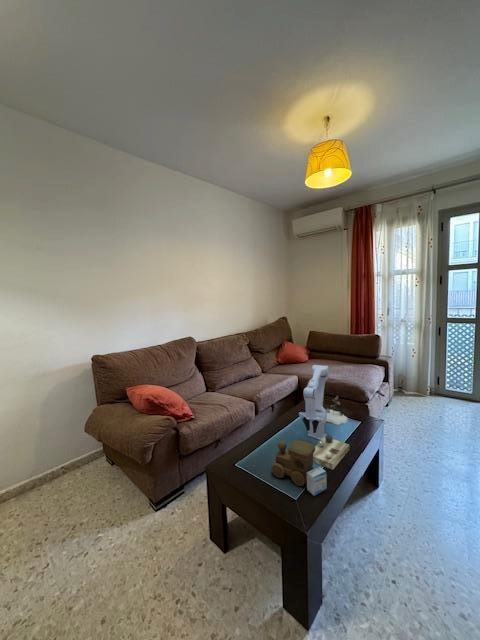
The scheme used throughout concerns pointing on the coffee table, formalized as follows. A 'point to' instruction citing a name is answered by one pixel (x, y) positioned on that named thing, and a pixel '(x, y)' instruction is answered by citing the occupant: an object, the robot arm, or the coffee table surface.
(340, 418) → the figurine
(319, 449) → the cream knobbed board
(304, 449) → the wooden toy train
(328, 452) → the cream plastic ball
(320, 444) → the steel ball
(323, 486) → the medicine box
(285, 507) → the coffee table surface
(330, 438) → the black rubber ball
